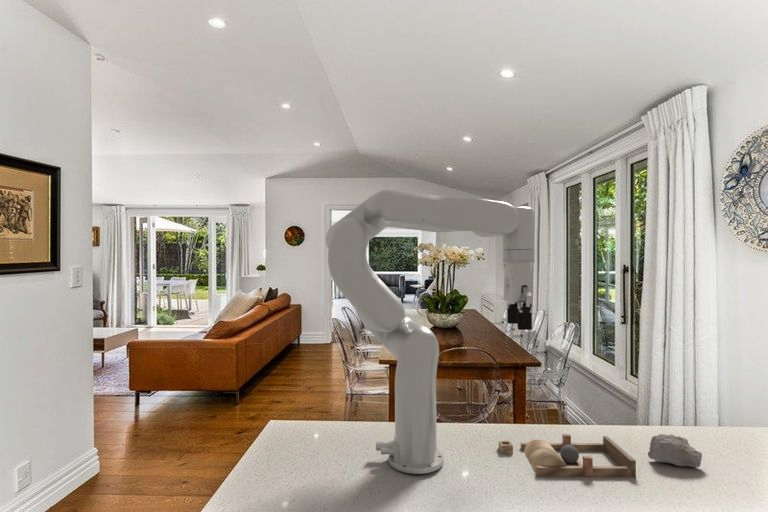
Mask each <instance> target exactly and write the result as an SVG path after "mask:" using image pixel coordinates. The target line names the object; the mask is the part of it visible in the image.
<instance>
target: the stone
mask: <svg viewBox="0 0 768 512" xmlns="http://www.w3.org/2000/svg"><path fill="white" fill-rule="evenodd" d="M648 449H649V451H648V453H647V456H648V458H649V459H651V460H653V461H656V462H658V463H666V464H667V463H668V464H672V465H674V466H678V467H691V468H700V466H701V464H702V458H703V454H702V452H701V451H699V450H697V449H695V448H694V447H693V446H691V445H690V443H689V441H688V439H687V438H685V437H682V436H675V435H673V434H671V433H670V434H662V433H661V434H657V435H653V436H652V437H651V439H650V444H649V448H648Z"/></svg>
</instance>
